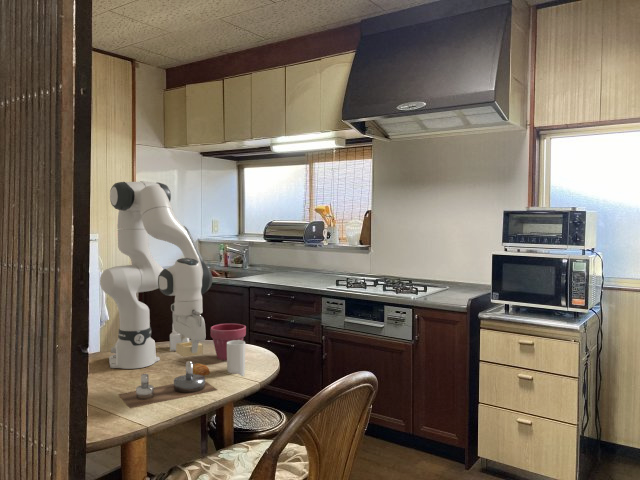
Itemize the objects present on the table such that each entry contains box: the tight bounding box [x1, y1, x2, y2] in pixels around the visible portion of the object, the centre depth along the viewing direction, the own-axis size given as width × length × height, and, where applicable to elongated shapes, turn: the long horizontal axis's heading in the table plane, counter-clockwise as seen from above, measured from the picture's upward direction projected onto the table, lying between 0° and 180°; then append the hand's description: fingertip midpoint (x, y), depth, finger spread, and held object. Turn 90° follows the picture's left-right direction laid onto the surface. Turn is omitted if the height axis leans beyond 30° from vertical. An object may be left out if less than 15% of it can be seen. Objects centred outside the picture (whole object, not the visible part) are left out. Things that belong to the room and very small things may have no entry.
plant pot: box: [210, 323, 247, 361], centre depth 212 cm, size 14×14×13 cm
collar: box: [175, 340, 204, 358], centre depth 171 cm, size 7×7×3 cm
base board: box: [117, 380, 218, 409], centre depth 168 cm, size 14×28×2 cm, turn 125°
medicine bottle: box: [169, 322, 190, 352], centre depth 225 cm, size 7×7×12 cm
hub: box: [173, 360, 206, 393], centre depth 171 cm, size 10×10×9 cm
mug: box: [226, 340, 246, 377], centre depth 192 cm, size 10×7×12 cm, turn 170°
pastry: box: [193, 362, 211, 377], centre depth 189 cm, size 9×7×4 cm
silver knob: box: [135, 373, 155, 400], centre depth 163 cm, size 5×5×7 cm
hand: (189, 349), depth 171 cm, fingers closed on collar, 7 cm apart
